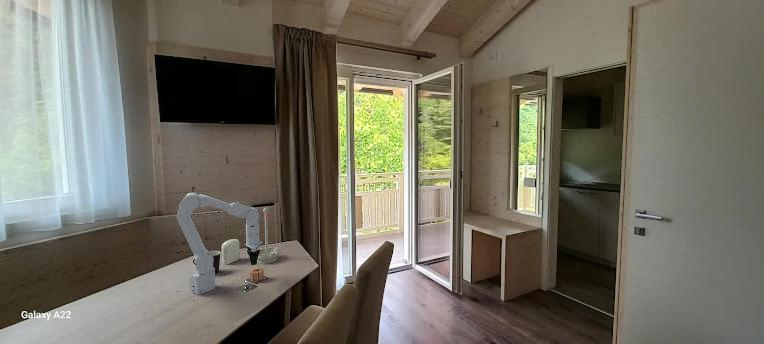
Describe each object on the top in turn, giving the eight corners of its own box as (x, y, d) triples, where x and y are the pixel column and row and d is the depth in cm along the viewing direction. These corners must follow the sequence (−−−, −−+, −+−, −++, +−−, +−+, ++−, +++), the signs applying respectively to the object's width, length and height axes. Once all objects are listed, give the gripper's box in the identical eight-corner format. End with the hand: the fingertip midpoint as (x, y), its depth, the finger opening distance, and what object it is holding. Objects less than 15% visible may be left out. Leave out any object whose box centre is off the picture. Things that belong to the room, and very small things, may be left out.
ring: (249, 281, 144) (249, 273, 144) (251, 276, 150) (251, 268, 150) (263, 280, 146) (262, 272, 146) (264, 275, 152) (264, 267, 151)
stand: (245, 294, 135) (244, 285, 135) (234, 291, 138) (234, 282, 138) (258, 288, 141) (258, 279, 141) (248, 284, 144) (248, 276, 144)
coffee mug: (224, 269, 162) (224, 251, 161) (214, 276, 154) (213, 256, 153) (204, 268, 163) (203, 250, 162) (192, 275, 155) (191, 256, 154)
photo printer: (226, 265, 168) (225, 243, 167) (220, 264, 169) (219, 242, 168) (241, 259, 177) (240, 237, 176) (235, 258, 179) (234, 237, 178)
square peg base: (256, 286, 143) (255, 276, 143) (246, 282, 147) (245, 273, 146) (268, 280, 149) (268, 271, 149) (258, 277, 153) (258, 268, 153)
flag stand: (253, 258, 179) (251, 206, 176) (277, 254, 185) (275, 204, 182) (256, 265, 167) (254, 211, 165) (281, 261, 173) (279, 208, 171)
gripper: (263, 236, 141) (263, 265, 142) (260, 229, 154) (261, 255, 155) (246, 238, 138) (247, 268, 139) (244, 230, 151) (245, 257, 152)
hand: (253, 261), depth 147 cm, fingers open, 7 cm apart
